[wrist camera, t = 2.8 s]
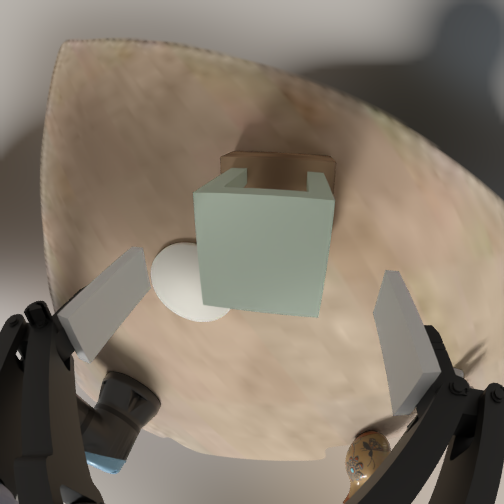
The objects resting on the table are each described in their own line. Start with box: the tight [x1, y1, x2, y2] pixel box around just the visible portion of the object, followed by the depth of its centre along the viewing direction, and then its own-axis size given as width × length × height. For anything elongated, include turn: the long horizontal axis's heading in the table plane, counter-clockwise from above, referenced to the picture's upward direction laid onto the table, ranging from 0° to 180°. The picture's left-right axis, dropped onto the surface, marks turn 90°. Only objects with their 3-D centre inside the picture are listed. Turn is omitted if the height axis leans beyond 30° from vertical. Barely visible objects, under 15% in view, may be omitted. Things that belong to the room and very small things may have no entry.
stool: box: [193, 168, 335, 318], centre depth 21 cm, size 8×8×9 cm
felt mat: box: [151, 242, 230, 322], centre depth 36 cm, size 12×12×1 cm
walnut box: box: [220, 151, 336, 194], centre depth 27 cm, size 10×10×5 cm
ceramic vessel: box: [343, 431, 391, 504], centre depth 37 cm, size 16×9×25 cm, turn 162°
